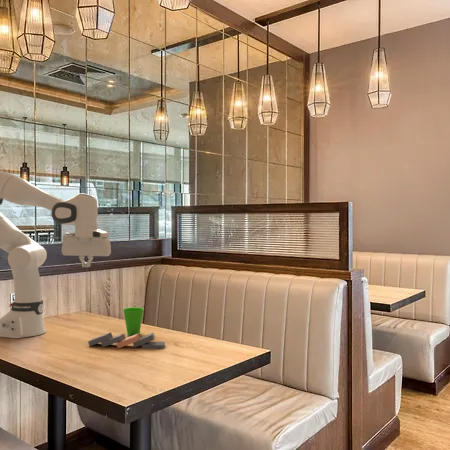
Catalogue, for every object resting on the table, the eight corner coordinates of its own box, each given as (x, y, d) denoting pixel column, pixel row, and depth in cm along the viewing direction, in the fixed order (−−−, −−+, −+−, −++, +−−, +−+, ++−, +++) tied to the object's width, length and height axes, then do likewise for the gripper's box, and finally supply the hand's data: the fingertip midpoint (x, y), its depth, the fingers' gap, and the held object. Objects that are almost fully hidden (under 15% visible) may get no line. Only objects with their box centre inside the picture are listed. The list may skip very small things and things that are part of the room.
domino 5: (142, 344, 176) (162, 345, 176) (144, 341, 181) (164, 341, 181) (142, 349, 176) (162, 350, 176) (144, 346, 181) (164, 346, 181)
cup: (146, 332, 202) (146, 307, 202) (140, 337, 193) (140, 311, 193) (126, 331, 203) (126, 307, 203) (120, 336, 194) (120, 311, 194)
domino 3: (116, 343, 176) (135, 336, 175) (120, 340, 181) (138, 333, 180) (118, 348, 176) (136, 341, 175) (121, 345, 181) (140, 338, 180)
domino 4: (132, 342, 176) (152, 334, 177) (134, 340, 181) (153, 332, 182) (134, 347, 176) (154, 339, 177) (136, 344, 181) (155, 337, 182)
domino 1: (87, 341, 179) (105, 335, 178) (93, 338, 184) (111, 332, 183) (89, 346, 179) (107, 339, 178) (95, 343, 184) (112, 336, 183)
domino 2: (100, 342, 178) (119, 336, 176) (106, 339, 183) (124, 333, 181) (102, 347, 178) (120, 341, 176) (107, 343, 183) (125, 338, 181)
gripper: (58, 232, 185) (58, 266, 185) (106, 233, 181) (106, 268, 181) (66, 232, 191) (66, 265, 191) (112, 233, 188) (112, 266, 188)
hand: (86, 266), depth 186 cm, fingers closed
